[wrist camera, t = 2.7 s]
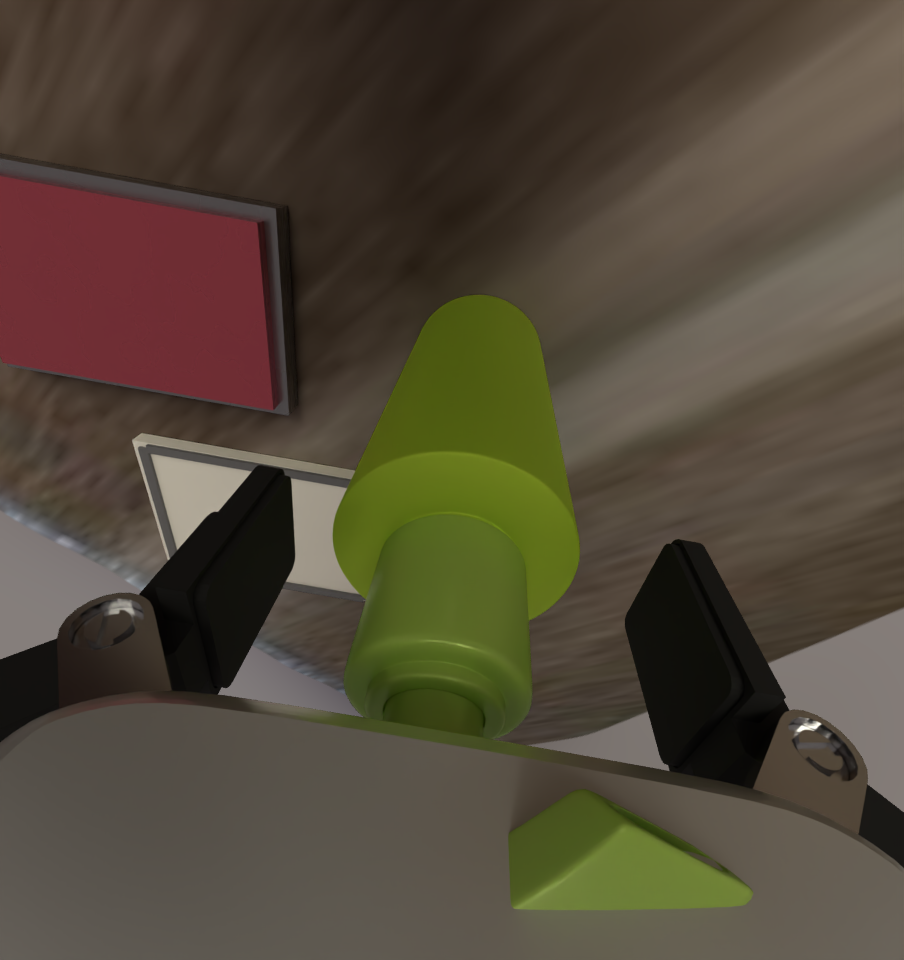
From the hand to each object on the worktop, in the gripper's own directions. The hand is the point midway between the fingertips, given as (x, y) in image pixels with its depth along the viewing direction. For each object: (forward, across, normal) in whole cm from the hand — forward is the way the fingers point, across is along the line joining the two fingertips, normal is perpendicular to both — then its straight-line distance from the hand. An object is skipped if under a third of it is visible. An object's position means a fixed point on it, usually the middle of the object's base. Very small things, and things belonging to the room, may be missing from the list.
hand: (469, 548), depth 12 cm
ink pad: (+12, +16, -1) cm, 20 cm away
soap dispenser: (+13, 0, -1) cm, 13 cm away
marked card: (+13, +11, +12) cm, 21 cm away
